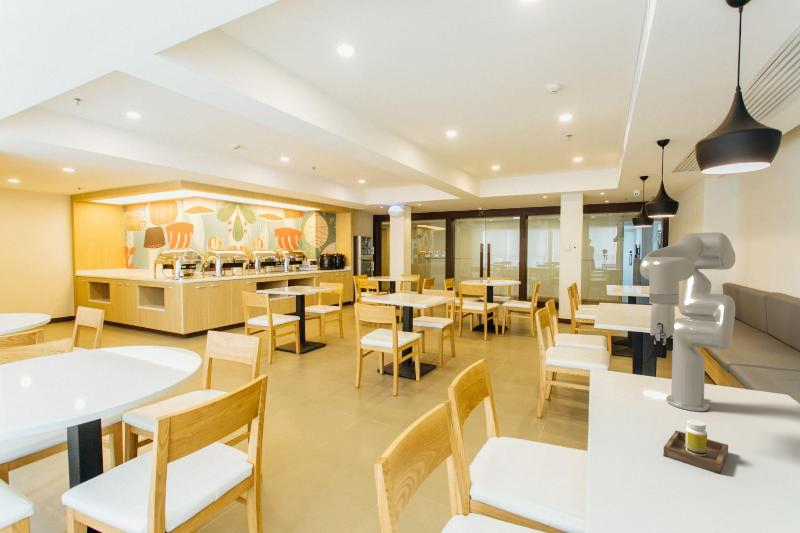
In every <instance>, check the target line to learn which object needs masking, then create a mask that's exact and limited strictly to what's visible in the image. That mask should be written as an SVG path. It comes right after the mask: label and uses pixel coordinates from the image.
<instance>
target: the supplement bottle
mask: <svg viewBox="0 0 800 533" xmlns="http://www.w3.org/2000/svg"><path fill="white" fill-rule="evenodd" d="M686 421H687V423H686V425H687V426H686V427H685V430H684V431H685V432H684V433H685V450H686V451H687V452H689V453H690V454H693V455H696V456H706V455H707V439H708V432H707V431H706V423H705V422H704V421H701V420H698V419H688V420H686Z"/></svg>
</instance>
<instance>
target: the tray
mask: <svg viewBox="0 0 800 533" xmlns="http://www.w3.org/2000/svg"><path fill="white" fill-rule="evenodd" d="M728 455H729V444H727V443H723V442H719V441H716V440H711V439H710V438H707V455H706V456H696V455H693V454H690V453H689V452H687V451H686V450H685V432H683V431H680V430H675V431H674V432H673V434H671V436H670V438H669V439H668V440H667V442H665V444H664V446H663V457H666V458H669V459H672V460H675V461H679V462H681V463H683V464H684V463H685V464H687V465H690V466H693V467H696V468H700V469H703V470H706V471H709V472H712V473H715V474H718V475H720V474H721V472H722V470H723V467H724V465H725V463H726V460H727V457H728Z"/></svg>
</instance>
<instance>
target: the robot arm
mask: <svg viewBox="0 0 800 533" xmlns="http://www.w3.org/2000/svg"><path fill="white" fill-rule="evenodd" d="M735 263H736V253H735V249H734V248H733V246H732V242H731V241H730V239H729V237H728V236H727V235H726V234H724V233H722V232H714V231H713V232H712V231H711V232H692V233H691V232H690V233H686V234H683V235H682V236H681V237H680V238H678V240H677V241H676V242H675V243H674V244H671V245H668V246H665V247H662V248H658V249H654V250H652V251H650V252H648V253H647V254H646V255H645V256H644V257H643V258H642V260H641V262H640V264H639V273H640V275H641V277H643V278H644V279H646V280H648V281H649V283H648V284H649V285H648V288H649V291H648V293H649V294H648V296H649V299H648V300H649V304H650V305H652V306H651V312H650V326H649V335H650V336H651V337H654V341H653V357H655V358H660V359H667V358H668V357H667V355H668V354H667V353H668V351H670V352H671V395H668V396H666V397H665V398H666V399H665V400H666V402H667V403H668V405H671V406H673V407H676V408H678V409H682V410H686V411H693V412H705V411H706V412H707V411H709V410H710V409H711V408H710V404H709V403H708V402H707V401H705V377H706V376H705V374H706V373H705V372H706V371H705V370H706V366H705V365H706V361H705V360H706V359H705V356H704V354H703V353H702V351H701V350H700V349H699V348H698V347H700V348H707V349H708V348H709V349H715V350H727V349H728V348H729V347H730V346H731V344H732V339H733V335H734V334H733V332H734V324H735V318H736V317H735V316H736V303H735V300H734V298H732V296H730V295H728V294H723V293H721V294H720V293H712V291H711V290H712V282H711V281H710V279H709V278H708V277H707V276H706V275H705V274H704V273H703V272H701V271H700V270H717V271H718V270H719V271H722V270H723V271H725V270H730V269H731V268H733V266H734V265H735ZM680 282H682V288H681V293H680ZM676 306H678V309H679V313H680V314H681V315H682V316H684V317H678V318H676V312H675V310H676V309H675V307H676Z"/></svg>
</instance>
